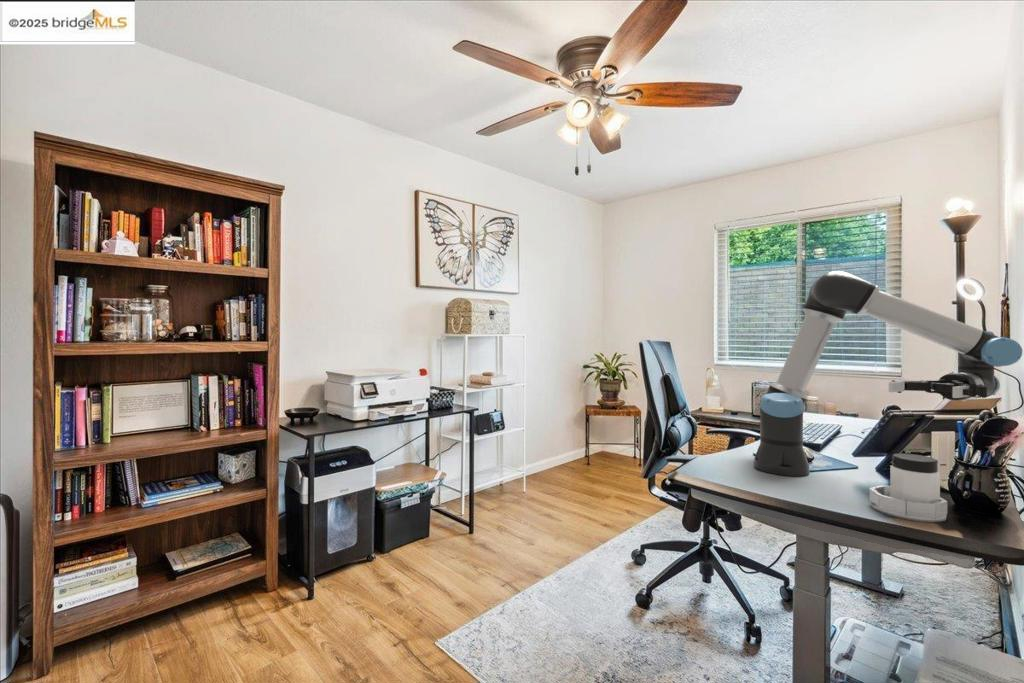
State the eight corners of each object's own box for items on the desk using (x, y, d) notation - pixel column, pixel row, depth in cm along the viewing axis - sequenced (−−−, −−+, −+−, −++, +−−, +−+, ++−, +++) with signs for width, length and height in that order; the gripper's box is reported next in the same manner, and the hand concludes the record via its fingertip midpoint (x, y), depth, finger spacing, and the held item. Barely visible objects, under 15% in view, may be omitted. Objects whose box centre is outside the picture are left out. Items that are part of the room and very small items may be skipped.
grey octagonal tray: (858, 506, 114) (858, 490, 114) (888, 498, 120) (888, 482, 120) (928, 526, 102) (928, 508, 102) (958, 516, 108) (958, 499, 108)
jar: (904, 499, 116) (904, 451, 116) (945, 510, 108) (946, 459, 108) (883, 504, 112) (883, 455, 112) (924, 516, 105) (925, 463, 105)
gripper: (1022, 405, 119) (985, 410, 110) (906, 394, 142) (866, 398, 132) (1022, 376, 119) (985, 379, 110) (906, 370, 142) (867, 372, 132)
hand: (920, 389), depth 121 cm, fingers open, 13 cm apart
